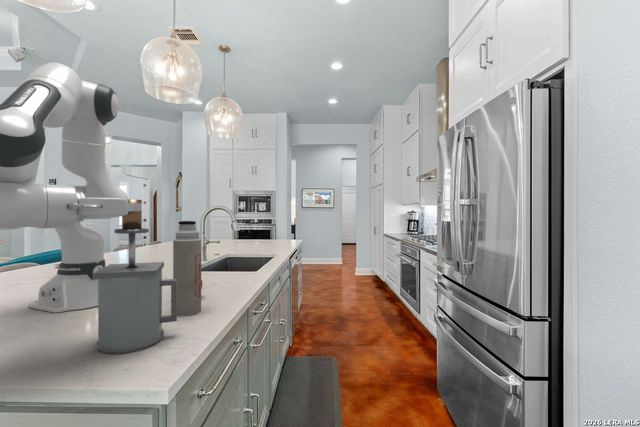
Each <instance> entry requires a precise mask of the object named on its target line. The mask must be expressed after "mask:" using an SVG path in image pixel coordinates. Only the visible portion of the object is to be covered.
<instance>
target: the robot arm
mask: <svg viewBox="0 0 640 427" xmlns="http://www.w3.org/2000/svg"><path fill="white" fill-rule="evenodd" d="M119 109H120V102H119V99H118V95H117V93H116V92H115V90H114V89H113V88H112V87H109V86H107V85H104V84H102V83H98V84H97V83H94V82H90V81H87V80H86V81H85V80H82V79H81V77H80V76H79V75H78V73H77V72H76V71H75V70H73V69H72V67H69V66H67V65H66V64H62V63H59V62H47V63H44V64H41V65H40V66H38V67H37V68H35V69H34V70H32V71H31V72H30V73H29V74H28V75H27V76H26V77H25V78H24V79H23V80H22V82H21V83H20V85H19V86H18V88H16V89H15V90H14V91H13V92H12V93H11V94H10V95H8V97H7V98H6V99H5V100H4V101H3V102H2V103H0V230H2V231H3V230H5V231H6V230H17V229H21V228H22V229H23V228H36V229H54V230H55V231H56V233H57V235H58V237H59V241H60V242H59V243H60V248H61V249H60V250H61V262H60V263H58V264H54V266H55V267H54V269H57V272H56V275H54V276H53V277H52V278H51V279H49V280H48V281H47V282H45V283H44V284H42V285H41V286H40V288H39V289H38V290H39V291H38V299H37V300H35V301H32V302H29V303H28V304H27V305H28V306H27V307H28V308H29V309H30V308H31V309H36V310H38V311H39V310H40V311H45V312H49V313H53V314H55V313H56V314H57V313H62V312H63V313H64V312H68V311H74V310H75V311H76V310H85V309H89V308H93V307H97V306H98V279H93V273H95V272H97V271H98V270H100V269H102V268H104V267H106V266H107V264H106V260H105V256H104V254H105V251H104V245H105V243H104V242H105V241H104V238H103V235H101V234H100V233H99V232H97V231H95V230H92V229H89V228H86V227H84V226H83V225H82V224H81V222H84V220H108V219H115V218H120V217H122V216H125V215H127V214H128V212H130V211H141V210H142V209H143V208H142V207H143V206H142V205H143V204H142V205H141V204H140V203H128V200H127V199H129V196H128V195H127V194H126V192H125V191H124V190H123V189H122V188H120V187H119V186H117V185H116V184H115V182H114V181H112V179H111V177H110V175H109V174H108V170H107V167H106V151H105V149H106V147H105V146H106V143H105V142H106V138H105V135H106V134H105V128H104V126H106V125H107V124H108V123H110V122H112V121H113V120H114V119H116V117H117V115H118V113H119ZM44 128H49V129H50V128H52V129H55V128H62V130H61V132H62V133H61V165H62V166H63V168H64V169H66V170H67V171H68V172H70V173H72V174H74V175H76V176H79V177H81V178H83V179H84V180H85V182H86V185H70V184H69V185H67V184H49V183H48V184H47V183H46V184H45V183H43V184H42V183H40V184H38V183H36V180H37V176H38V175H37V174H38V172H39V171H38V170H39V166H40V160H41V157H42V153H43V150H44V148H45V144H46V133H45V130H44ZM142 211H143V210H142Z"/></svg>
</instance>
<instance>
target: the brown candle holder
mask: <svg viewBox="0 0 640 427" xmlns="http://www.w3.org/2000/svg"><path fill="white" fill-rule="evenodd" d="M127 200H128V203H140V204H141V205H143V204H142V203H143V202H142V201H143V200H142V199H129V198H128V199H127ZM142 211H143V210H141V211H130V212H128V214H127V215H125V216H121V228H115V229H113V230H114V234H117V235H118V234H119V235H120V234H121V235H123V234H125V235H126V234H128V263H129V268H135V263H136V234H147V233H149V230H150V229H149V228H146V227H145V228H144V227H143V226H142V225H143V220H142V218H143V217H142V216H143V214H142V213H143V212H142ZM142 227H143V228H142Z"/></svg>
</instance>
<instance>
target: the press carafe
mask: <svg viewBox="0 0 640 427" xmlns="http://www.w3.org/2000/svg"><path fill="white" fill-rule="evenodd" d="M164 267H165V262H164V261H156V262H135V268H129V262H127V263H112V264H110V263H109V264H108V265H105V267H104V268H102V269H100V270H98V271H97V272H95V273H93V279H98V307H97V310H98V312H97V314H98V315H97V317H98V318H97V321H98V323H97V326H98V327H97V330H98V331H97V334H98V335H97V336H98V337H97V342H96V350H97V351H98V352H99V353H102V354H106V355H122V354H123V355H124V354H130V353H134V352H135V353H136V352H139V351H143V350H146V349H149V348H151V347H154V346H155V345H157V344H158V343H160V342H161V341H163V339H164V336H165V335H164V329H163V328H162V327H163V323H173V322H177V321H178V316H177V279H173V278H171V279H170V278H169V279H163V268H164ZM165 286H167V287H168V286H170V314H167V315H163V299H162V298H163V291H162V290H163V287H165Z"/></svg>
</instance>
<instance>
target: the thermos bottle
mask: <svg viewBox="0 0 640 427" xmlns="http://www.w3.org/2000/svg"><path fill="white" fill-rule="evenodd" d="M196 224H197V221H193V220H182V221H178V230H177V231H176V232H175V234H174V236H175V238H174V239H173V241H172V246H173V247H172V266H173V267H172V269H173V270H172V273H173V274H172V279H177V317H189V316H193V315H197V314H199V313H200V312H201V311H202V289H201V280H202V238H200V232H199V231H198V230H197V225H196Z"/></svg>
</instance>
